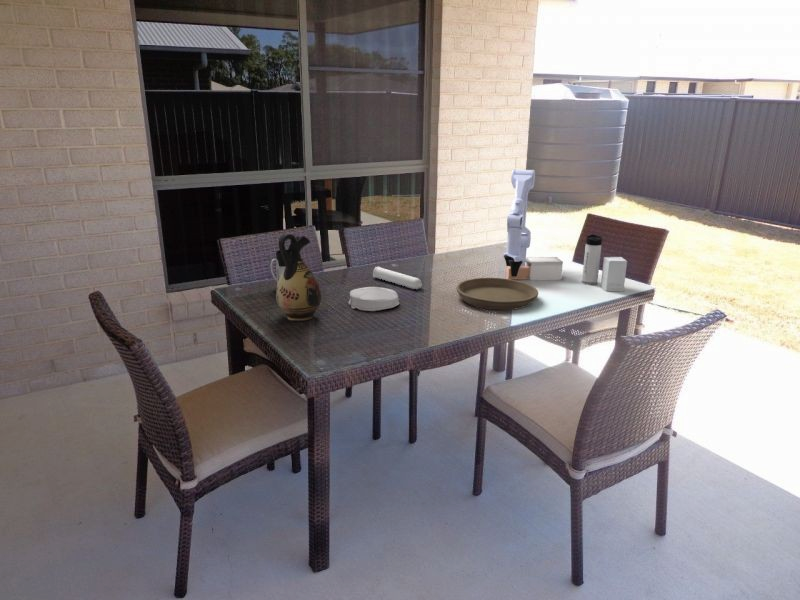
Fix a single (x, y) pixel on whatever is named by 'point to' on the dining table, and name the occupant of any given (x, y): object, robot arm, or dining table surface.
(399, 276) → the tube
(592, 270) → the travel mug
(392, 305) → the food container
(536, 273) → the dispenser
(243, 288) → the dining table surface
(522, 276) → the orange long block
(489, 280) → the plant saucer
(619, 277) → the supplement box
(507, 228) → the robot arm
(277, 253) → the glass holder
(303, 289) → the ceramic jug
